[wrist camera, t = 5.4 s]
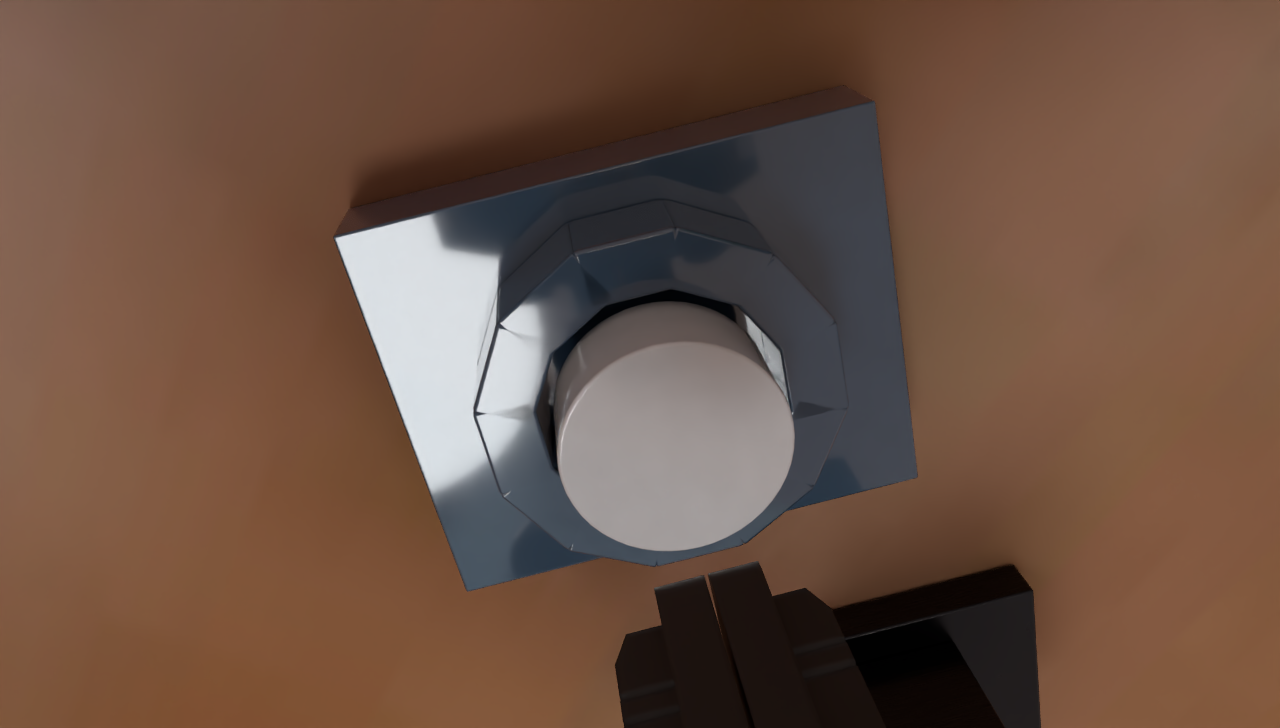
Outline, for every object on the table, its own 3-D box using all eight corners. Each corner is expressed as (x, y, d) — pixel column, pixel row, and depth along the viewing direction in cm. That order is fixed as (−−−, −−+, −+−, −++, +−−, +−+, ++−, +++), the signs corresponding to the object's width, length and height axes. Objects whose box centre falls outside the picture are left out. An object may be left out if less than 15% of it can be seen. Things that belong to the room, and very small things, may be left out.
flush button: (583, 517, 21) (589, 577, 19) (527, 331, 19) (529, 377, 17) (785, 466, 21) (812, 520, 19) (750, 275, 19) (775, 315, 17)
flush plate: (470, 543, 25) (462, 650, 21) (348, 208, 21) (312, 269, 17) (889, 437, 25) (952, 526, 21) (845, 84, 21) (913, 120, 18)
